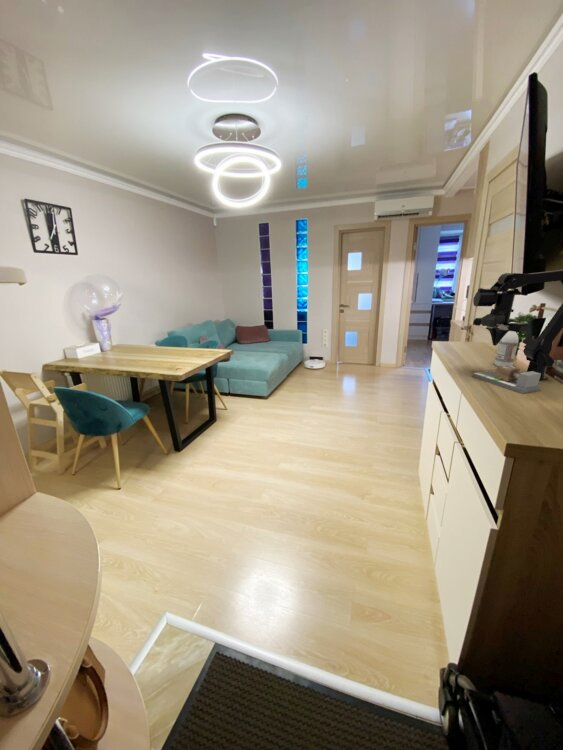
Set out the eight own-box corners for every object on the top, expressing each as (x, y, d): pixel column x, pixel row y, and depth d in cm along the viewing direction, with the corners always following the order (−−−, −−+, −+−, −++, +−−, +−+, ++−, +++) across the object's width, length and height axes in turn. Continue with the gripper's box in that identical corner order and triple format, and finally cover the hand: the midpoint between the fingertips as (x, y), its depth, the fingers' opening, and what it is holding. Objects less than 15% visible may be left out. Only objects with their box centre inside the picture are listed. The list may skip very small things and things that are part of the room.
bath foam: (508, 368, 138) (519, 324, 132) (491, 365, 144) (500, 322, 137) (514, 366, 142) (525, 322, 135) (498, 362, 147) (507, 320, 141)
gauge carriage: (504, 376, 124) (507, 364, 122) (523, 382, 117) (527, 369, 115) (491, 378, 121) (494, 366, 120) (511, 384, 115) (514, 371, 113)
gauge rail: (489, 373, 132) (492, 359, 130) (540, 390, 114) (545, 373, 112) (472, 376, 128) (475, 361, 126) (522, 393, 111) (526, 376, 109)
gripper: (467, 305, 126) (460, 342, 131) (514, 310, 110) (504, 352, 115) (485, 303, 130) (478, 340, 135) (534, 308, 114) (523, 349, 119)
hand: (494, 345), depth 126 cm, fingers closed
